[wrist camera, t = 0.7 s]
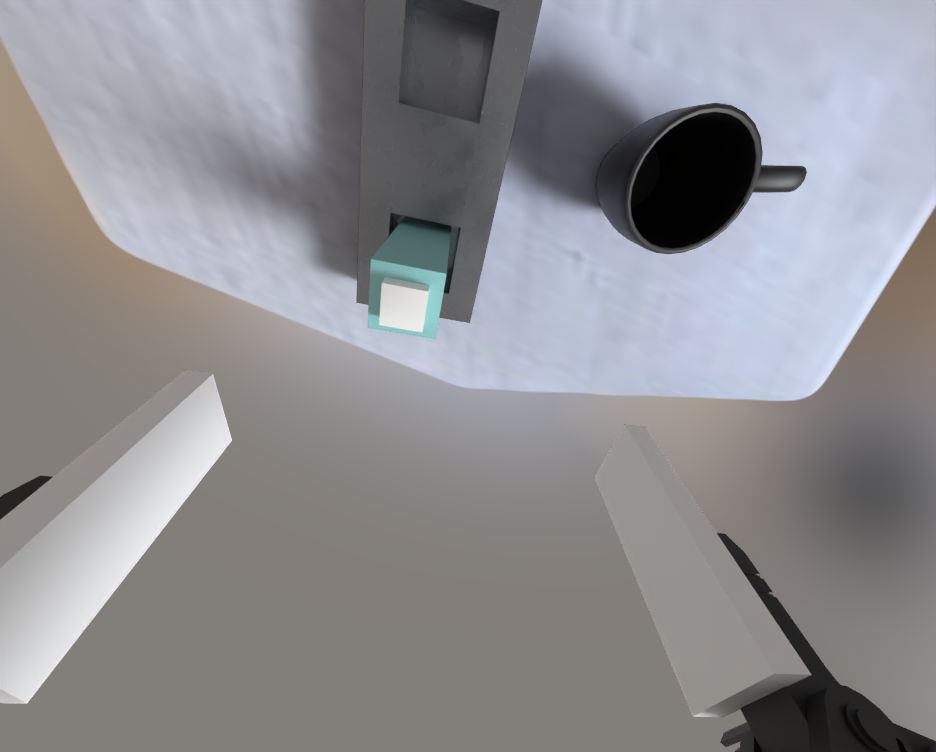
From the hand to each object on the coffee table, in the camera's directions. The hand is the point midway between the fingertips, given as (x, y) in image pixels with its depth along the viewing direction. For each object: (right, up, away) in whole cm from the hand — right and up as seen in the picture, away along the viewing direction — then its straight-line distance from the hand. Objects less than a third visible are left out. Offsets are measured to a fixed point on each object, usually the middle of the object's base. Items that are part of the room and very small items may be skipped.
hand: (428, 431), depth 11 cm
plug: (-3, +14, +19) cm, 24 cm away
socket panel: (-1, +19, +17) cm, 26 cm away
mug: (+17, +19, +18) cm, 31 cm away
